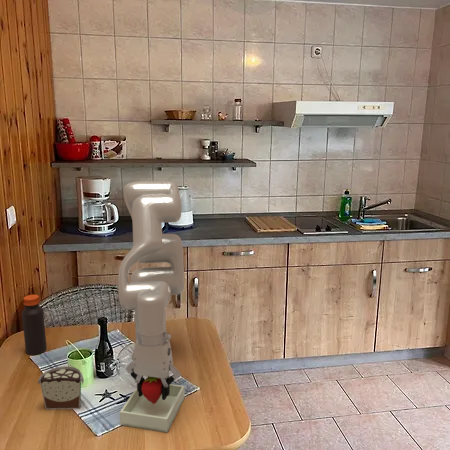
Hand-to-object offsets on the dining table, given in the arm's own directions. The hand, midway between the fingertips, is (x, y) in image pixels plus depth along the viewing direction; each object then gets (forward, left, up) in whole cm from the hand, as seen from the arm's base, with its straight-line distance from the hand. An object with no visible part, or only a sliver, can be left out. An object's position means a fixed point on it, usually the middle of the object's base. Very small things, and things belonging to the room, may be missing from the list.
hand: (153, 394), depth 124 cm
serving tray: (0, 0, -5) cm, 5 cm away
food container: (+2, -26, -5) cm, 27 cm away
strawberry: (0, 0, -3) cm, 3 cm away
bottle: (-22, -52, -5) cm, 57 cm away
